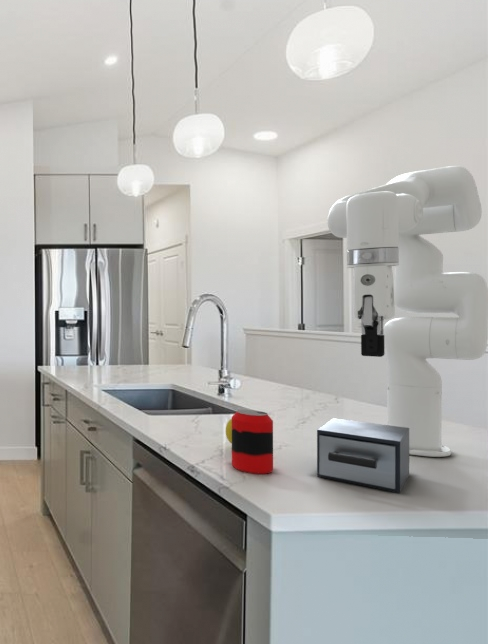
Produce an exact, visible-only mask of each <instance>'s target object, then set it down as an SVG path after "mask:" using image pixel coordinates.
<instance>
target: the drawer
mask: <svg viewBox="0 0 488 644" xmlns="http://www.w3.org/2000/svg"><path fill="white" fill-rule="evenodd" d="M319 474H321V475H326V476H331V477H336V478H341V479H346V480H351V481H356V482H361V483H366V484H371V485H376V486H381V487H386V488H391V489H395V488H396V446H395V445H391V444H385V443H378V442H371V441H364V440H358V439H351V438H344V437H338V436H331V435H320V436H319Z"/></svg>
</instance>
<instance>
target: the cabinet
mask: <svg viewBox="0 0 488 644" xmlns="http://www.w3.org/2000/svg"><path fill="white" fill-rule="evenodd" d="M320 435H331V436H338V437H344V438H351V439H358V440H364V441H371V442H378V443H385V444H391V445H395V446H396V488H395V489H391V488H386V487H381V486H376V485H371V484H366V483H361V482H356V481H351V480H346V479H341V478H336V477H331V476H326V475H321V474H319V436H320ZM409 476H410V454H409V428H406V427H398V426H390V425H387V424H383V423H375V422H366V421H360V420H359V421H357V420H350V419H343V418H336V417H335V418H334V417H333V418H331V419H330V420H329V421H327V422H325V423H324V424H323V425H321V426H320V427H318V428H317V429H316V477H318V478H321V479H322V478H323V479H328V480H333V481H338V482H343V483H346V484H352V485H356V486H357V485H358V486H362V487H367V488H371V489H377V490H384V491H387V492H392V493H398V494H401V493H402V490H403V489H404V486H405V485H406V482H407V480H408V478H409Z"/></svg>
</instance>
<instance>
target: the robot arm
mask: <svg viewBox="0 0 488 644" xmlns="http://www.w3.org/2000/svg"><path fill="white" fill-rule="evenodd" d="M480 199H481V198H480V196H479V191H478V187H477V183H476V181H475V179H474V176H473V174H472V173H471V171H470V170H469V169H467V168H466V167H464V166H462V165H449V166H443V167H438V168H431V169H425V170H423V169H422V170H417V171H411V172H407V173H403V174H400V175H397V176H395V177H394V178H392V179H390V180H389V181H388V182H386V183H385V184H382V185H379V186H375V187H373V188H370V189H366V190H364V191H359V192H356V193H353V194H350V195H346V196H344V197H342V198H340V199H338V200H337V201H335V203H333V204H332V206H331V208H330V209H329V212H328V215H327V227H328V230H329V231H330V233H331V234H332V235H334V236H335V237H336V238H340V239H346V269H353V312H354V317H355V318H356V319H357V320H360V321H361V334H360V349H361V350H360V355H361V356H362V357H375V358H376V357H377V358H382V357H384V356H385V361H386V425H390V426H398V427H406V428H409V455H412V456H418V457H428V458H429V457H431V458H432V457H433V458H441V457H442V458H444V457H449V456H451V455H452V449H451V448H450V447H448V446H445V445H442V420H443V419H442V417H443V416H442V410H443V409H442V408H443V407H442V405H443V403H442V401H443V400H442V399H443V398H442V397H443V395H442V393H443V392H442V388H443V387H442V385H443V384H442V381H443V380H442V377H441V374H440V373H439V371H438V370H437V369H436V368H435V367H434V366H433V365H432V364H431V363H429V361H428V360H427V359H441V360H460V361H461V360H463V361H473V360H477V359H480V358H482V357H483V356H484V354H486V350H487V346H488V285H487V282H486V279H485V278H484V277H483V276H482V275H481V274H479V273H477V272H471V271H455V272H452V271H451V272H443V268H444V267H443V266H444V254H443V253H442V251H441V250H440V249H439V248H438V247H437V246H436V245H435V244H434V243H432V242H431V241H429V240H427V239H426V238H424V237H423V236H421V235H434V234H435V235H436V234H445V233H446V234H447V233H458V232H459V233H460V232H464V231H465V232H466V231H470V230H472V229H474V228H475V227H477V226H478V224H479V223H480V222H481V219H482V212H483V211H482V204H481V200H480ZM392 267H394V274H393V268H392ZM395 308H396V309H397V310H399V311H400V312H404V313H411V314H454V315H457V316H458V317H454V316H453V317H451V316H450V317H444V316H442V317H441V316H436V317H435V316H402V317H396V318H394V317H395V315H396V310H395ZM385 320H388V321H387V322H385V323H384V321H385Z"/></svg>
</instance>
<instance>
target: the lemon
mask: <svg viewBox="0 0 488 644" xmlns="http://www.w3.org/2000/svg"><path fill="white" fill-rule="evenodd" d="M225 436H226V439H227V441H228V442H229V443H230V444H231V445H232V418H230V419H229V420H228V421H227V423H226V426H225Z"/></svg>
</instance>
